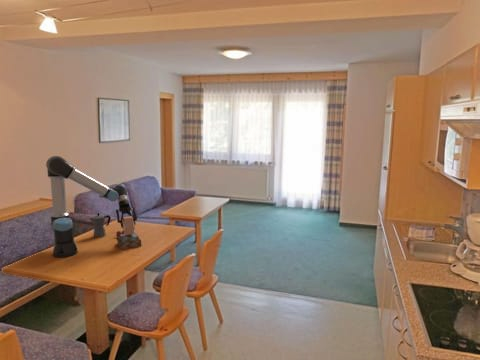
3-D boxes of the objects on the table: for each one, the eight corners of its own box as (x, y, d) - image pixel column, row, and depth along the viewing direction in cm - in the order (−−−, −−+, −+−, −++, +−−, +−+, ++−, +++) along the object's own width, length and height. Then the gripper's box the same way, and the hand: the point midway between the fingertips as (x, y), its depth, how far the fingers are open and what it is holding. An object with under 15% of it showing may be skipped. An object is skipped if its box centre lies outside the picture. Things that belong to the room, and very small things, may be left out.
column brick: (125, 235, 256) (124, 218, 254) (123, 233, 261) (122, 216, 259) (133, 234, 259) (133, 217, 257) (132, 231, 264) (131, 215, 262)
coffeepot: (90, 238, 277) (89, 215, 274) (90, 235, 285) (89, 212, 283) (112, 235, 282) (110, 213, 280) (111, 232, 291) (109, 210, 288)
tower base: (121, 249, 252) (120, 239, 251) (117, 243, 264) (117, 234, 263) (141, 245, 258) (141, 236, 257) (137, 240, 270) (136, 231, 269)
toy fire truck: (115, 237, 279) (115, 225, 278) (130, 233, 290) (130, 221, 288) (118, 238, 277) (117, 225, 276) (133, 233, 288) (132, 221, 286)
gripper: (136, 204, 275) (142, 230, 263) (109, 206, 266) (114, 234, 254) (137, 198, 270) (143, 224, 258) (110, 201, 261) (115, 228, 249)
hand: (129, 229), depth 256 cm, fingers open, 6 cm apart
